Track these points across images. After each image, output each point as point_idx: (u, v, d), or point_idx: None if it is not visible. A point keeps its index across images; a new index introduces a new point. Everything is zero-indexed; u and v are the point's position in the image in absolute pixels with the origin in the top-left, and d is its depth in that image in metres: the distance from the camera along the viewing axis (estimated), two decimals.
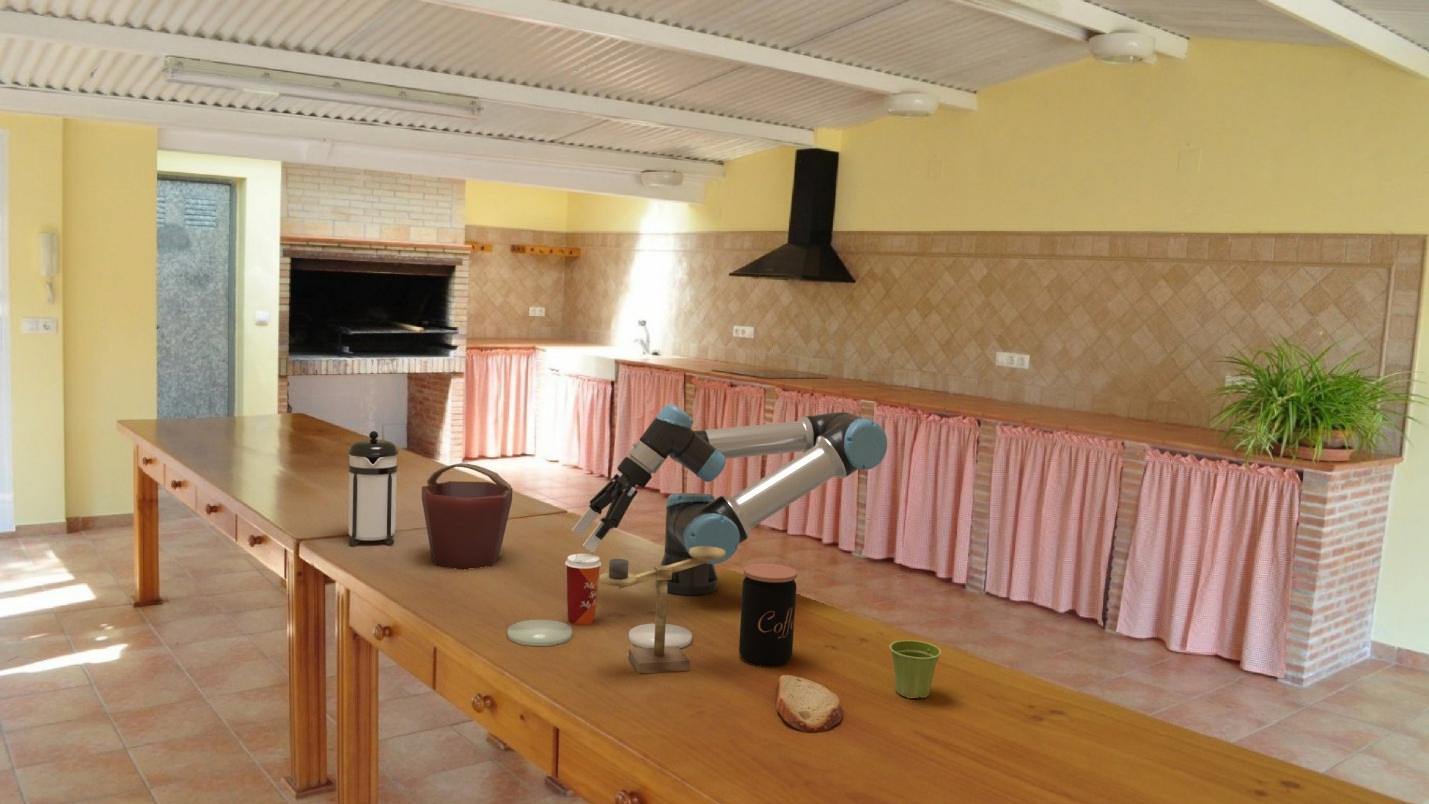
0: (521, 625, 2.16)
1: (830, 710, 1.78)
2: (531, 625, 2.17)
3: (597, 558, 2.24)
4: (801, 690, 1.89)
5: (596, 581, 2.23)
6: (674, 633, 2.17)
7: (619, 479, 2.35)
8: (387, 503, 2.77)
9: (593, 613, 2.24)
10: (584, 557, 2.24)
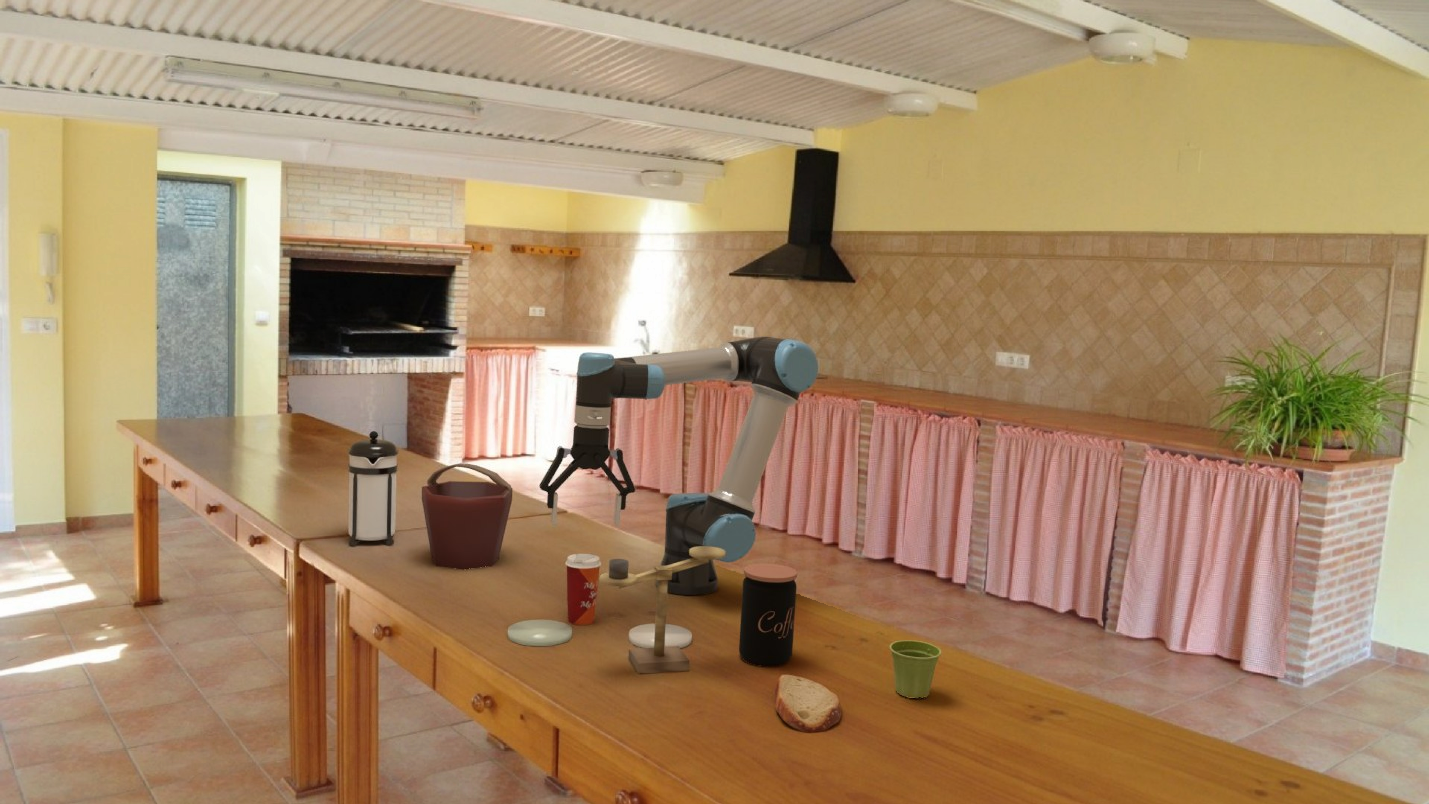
0: (521, 625, 2.16)
1: (829, 710, 1.78)
2: (531, 625, 2.17)
3: (597, 558, 2.24)
4: (801, 690, 1.89)
5: (596, 581, 2.23)
6: (674, 633, 2.17)
7: (579, 451, 2.20)
8: (387, 503, 2.77)
9: (593, 613, 2.24)
10: (584, 557, 2.24)
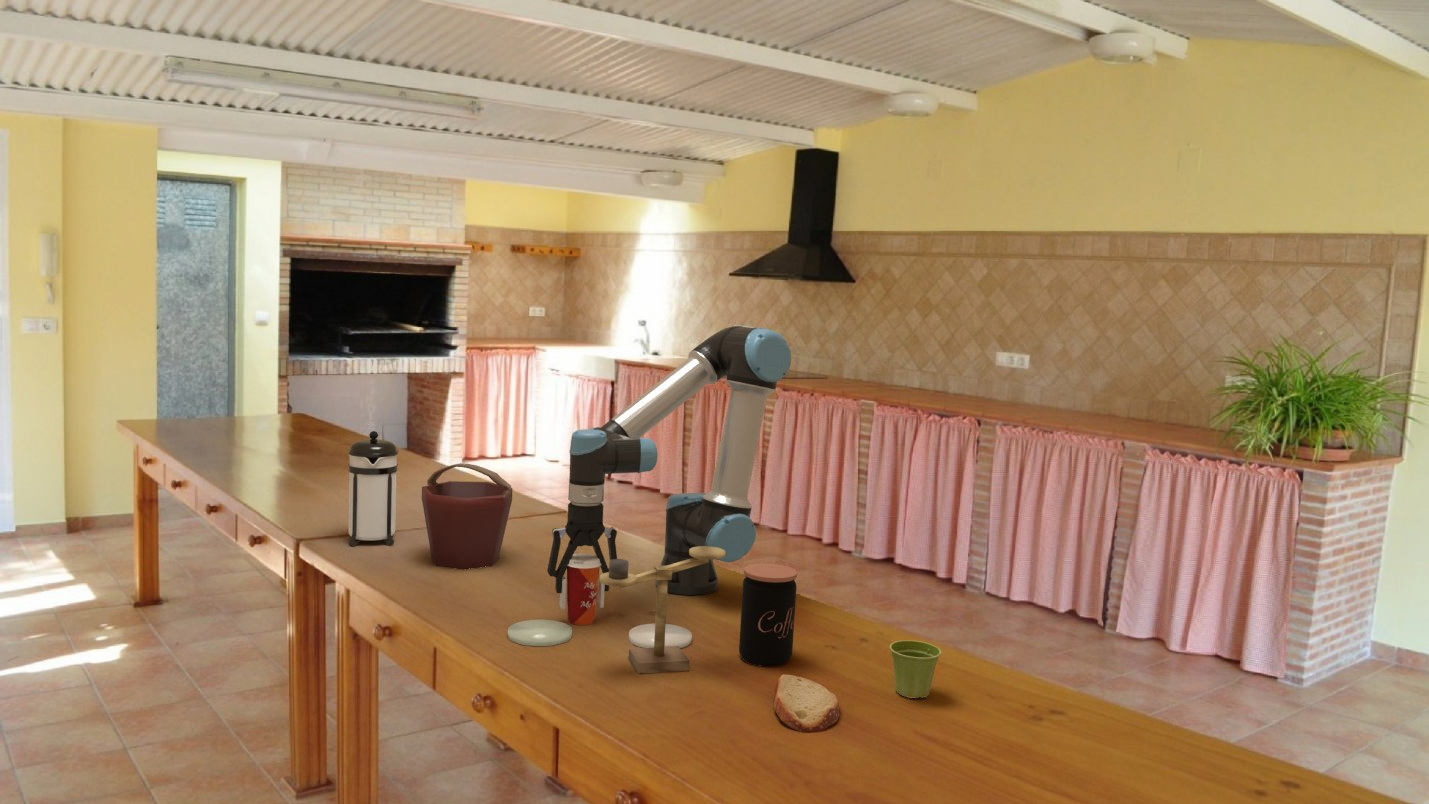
0: (521, 625, 2.16)
1: (827, 710, 1.78)
2: (531, 625, 2.17)
3: (597, 558, 2.24)
4: (800, 690, 1.89)
5: (596, 581, 2.23)
6: (674, 633, 2.17)
7: (574, 527, 2.21)
8: (387, 503, 2.77)
9: (593, 613, 2.24)
10: (584, 557, 2.24)
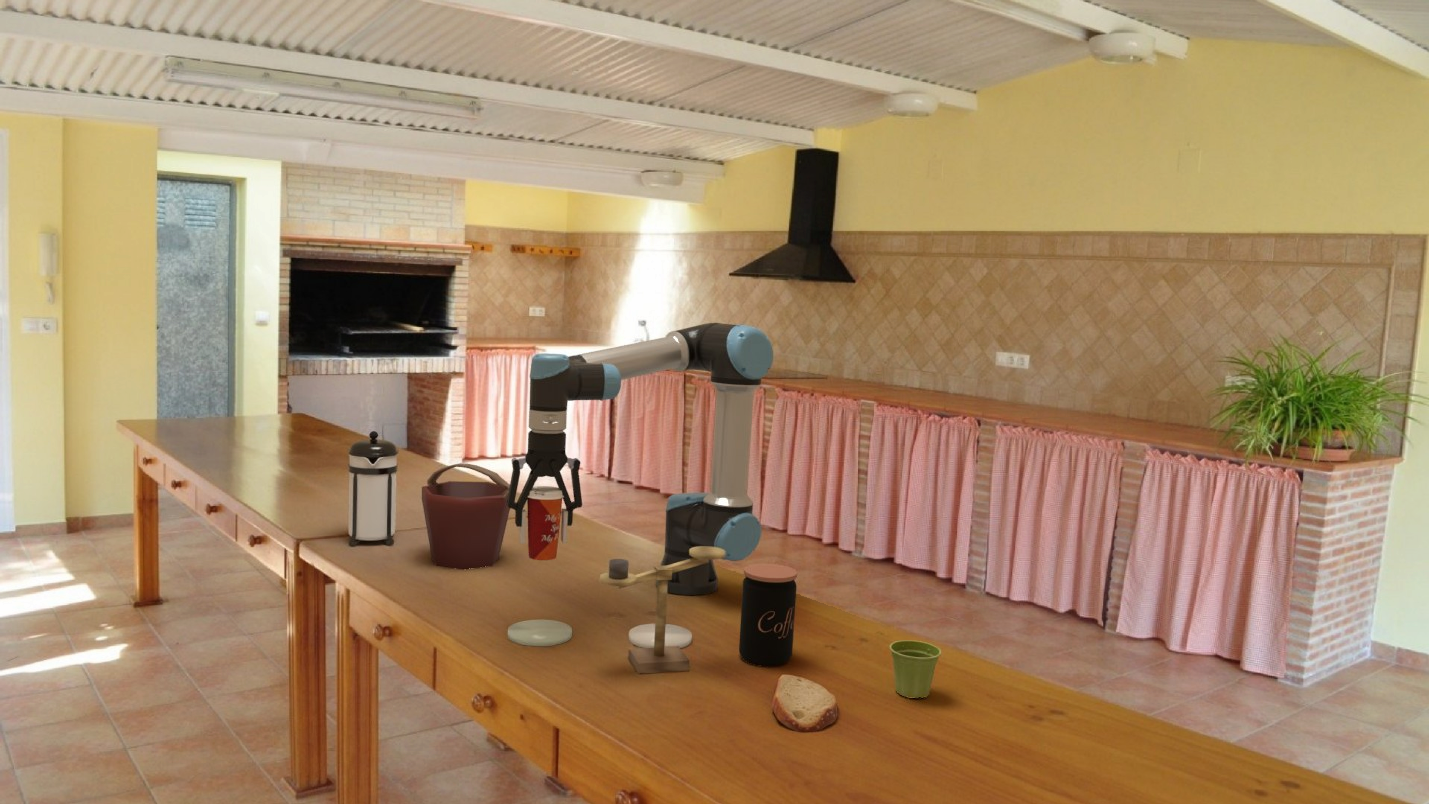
0: (521, 625, 2.16)
1: (824, 710, 1.78)
2: (531, 625, 2.17)
3: (559, 490, 2.11)
4: (800, 690, 1.89)
5: (558, 514, 2.10)
6: (674, 633, 2.17)
7: (534, 456, 2.09)
8: (387, 503, 2.77)
9: (555, 548, 2.11)
10: (546, 489, 2.11)
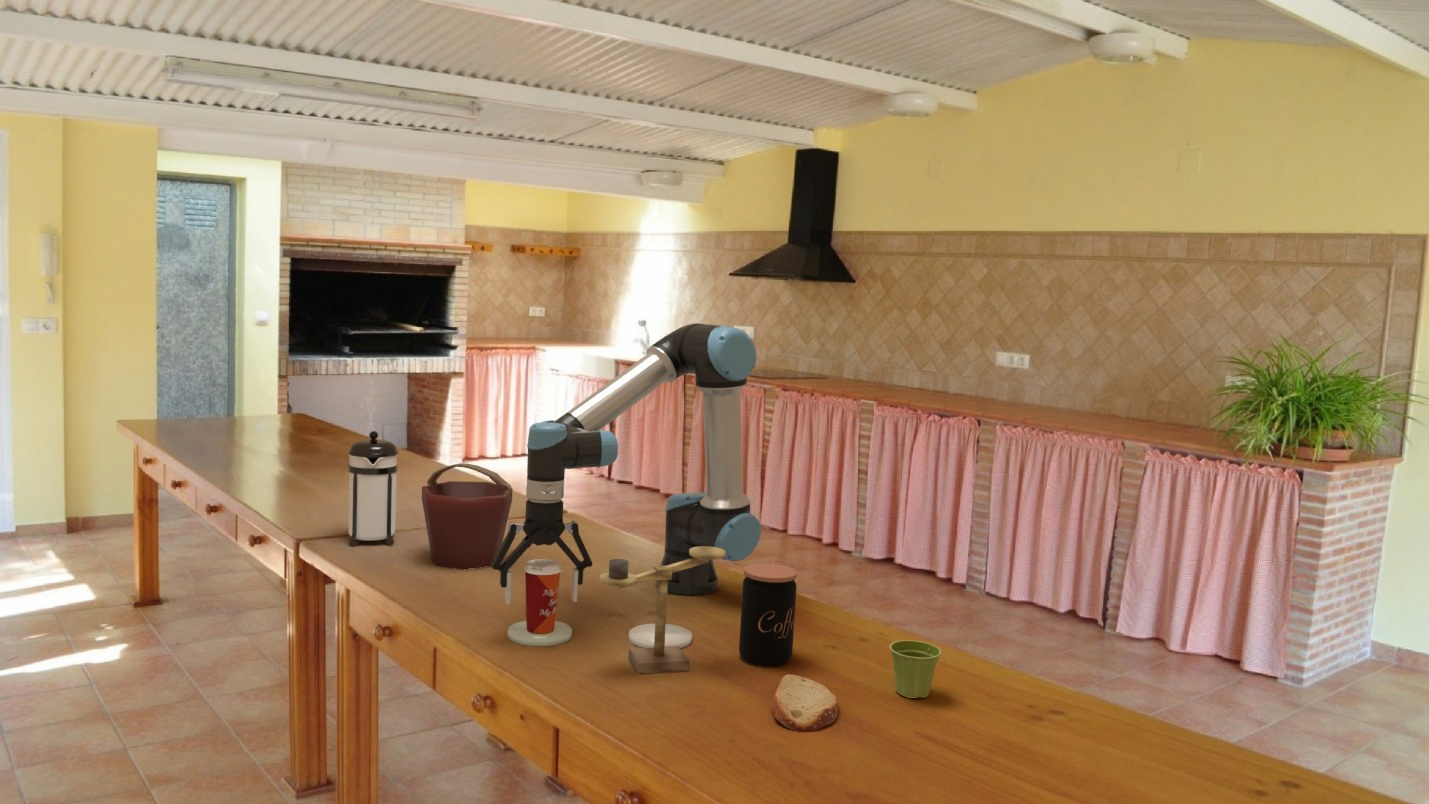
0: (521, 625, 2.16)
1: (822, 710, 1.78)
2: None
3: (557, 564, 2.13)
4: (802, 690, 1.89)
5: (556, 588, 2.12)
6: (674, 633, 2.17)
7: (532, 526, 2.10)
8: (387, 503, 2.77)
9: (553, 621, 2.13)
10: (544, 563, 2.13)
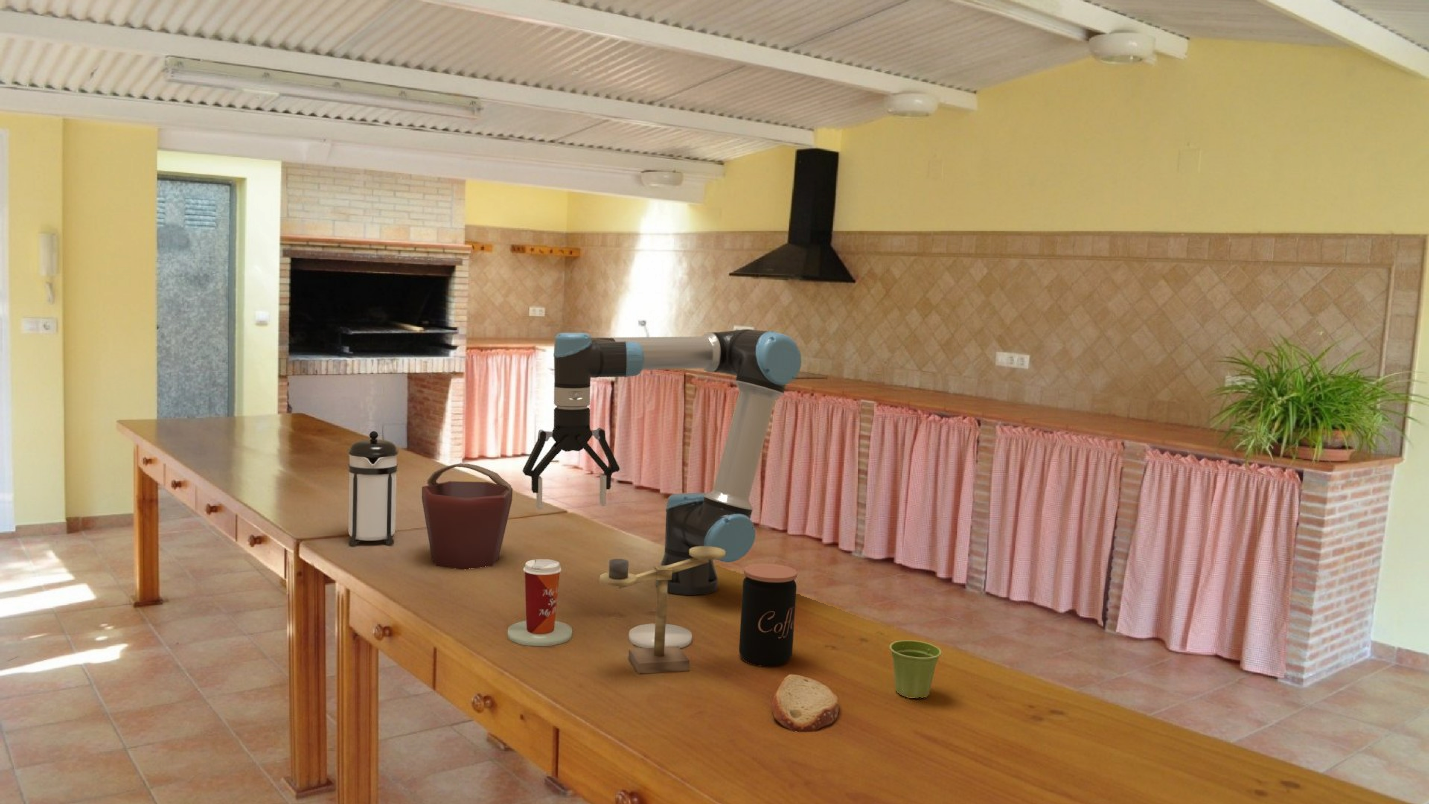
0: (521, 625, 2.16)
1: (821, 710, 1.78)
2: None
3: (557, 564, 2.13)
4: (804, 690, 1.89)
5: (556, 588, 2.12)
6: (674, 633, 2.17)
7: (561, 433, 2.17)
8: (387, 503, 2.77)
9: (553, 621, 2.13)
10: (543, 563, 2.13)
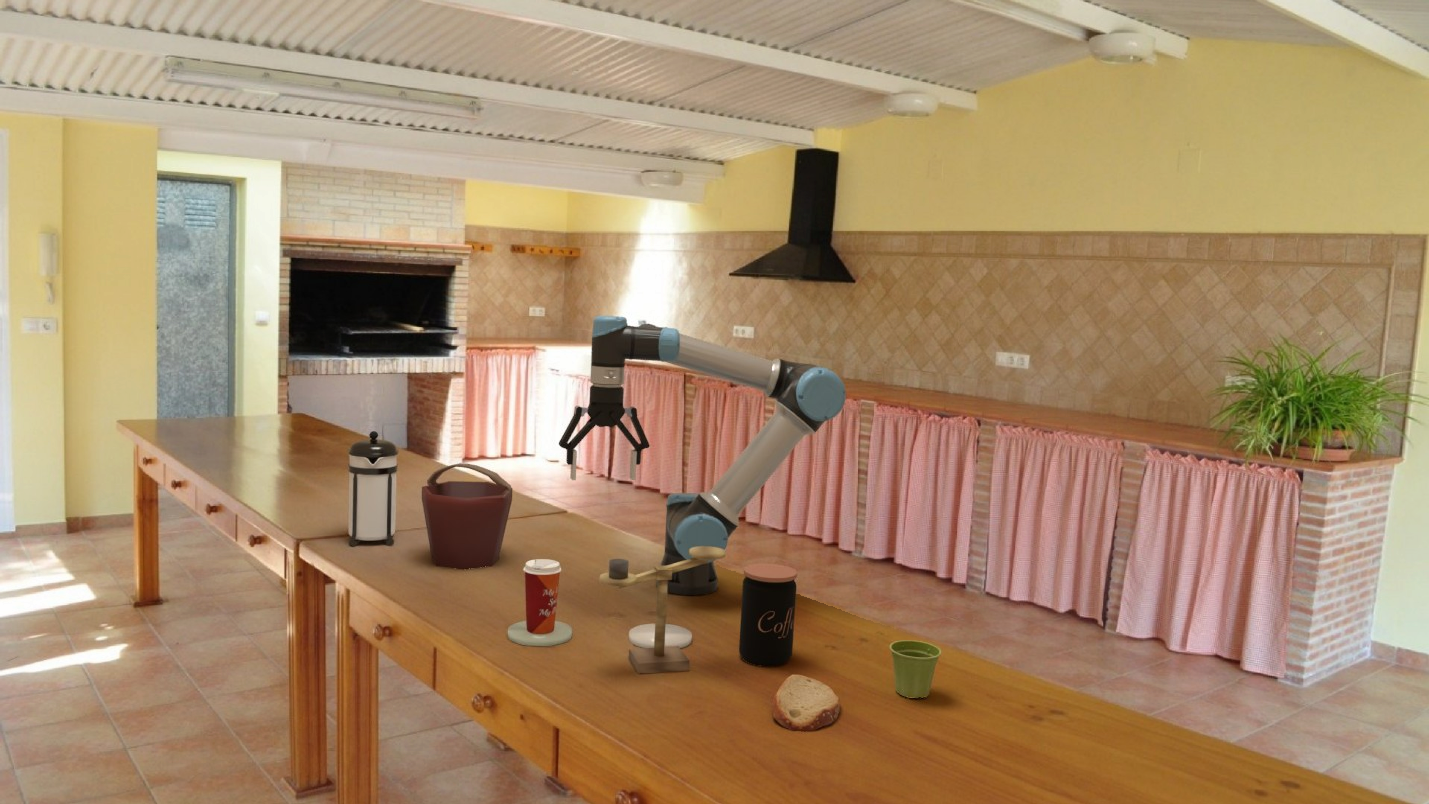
0: (521, 625, 2.16)
1: (821, 710, 1.77)
2: None
3: (557, 564, 2.13)
4: (805, 690, 1.89)
5: (556, 588, 2.12)
6: (674, 633, 2.17)
7: (596, 409, 2.32)
8: (387, 503, 2.77)
9: (553, 621, 2.13)
10: (543, 563, 2.13)
